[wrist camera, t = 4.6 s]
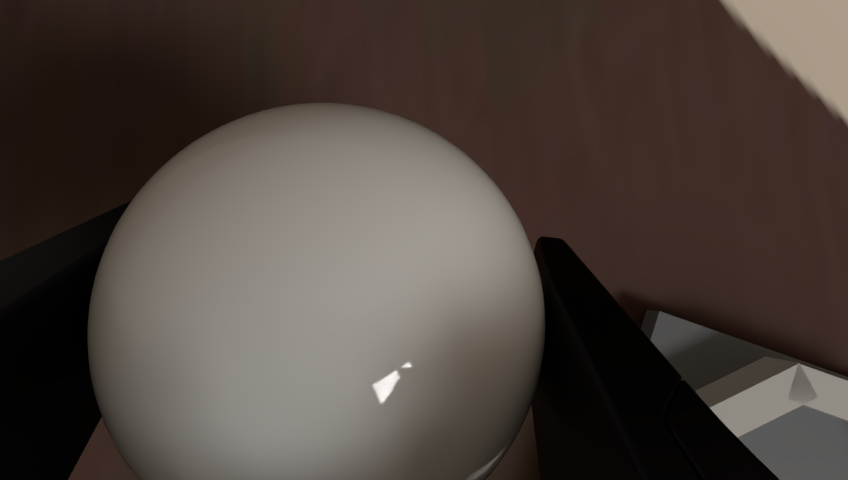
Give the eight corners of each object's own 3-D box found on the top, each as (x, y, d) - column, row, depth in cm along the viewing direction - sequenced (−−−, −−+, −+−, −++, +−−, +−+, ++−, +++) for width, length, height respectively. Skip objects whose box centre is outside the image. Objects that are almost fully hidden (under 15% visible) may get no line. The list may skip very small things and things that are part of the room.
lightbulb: (234, 272, 16) (-174, 224, 5) (415, 161, 16) (382, -102, 6) (344, 459, 16) (137, 843, 5) (529, 341, 16) (744, 445, 5)
